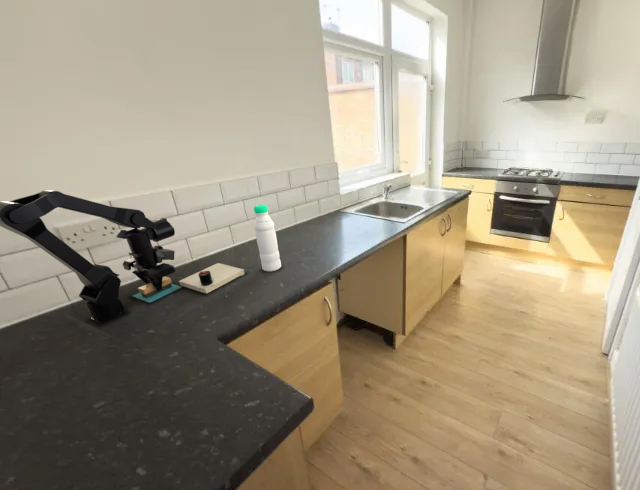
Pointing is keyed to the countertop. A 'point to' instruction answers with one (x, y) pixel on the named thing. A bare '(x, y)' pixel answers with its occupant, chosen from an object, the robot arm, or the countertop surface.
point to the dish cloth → (158, 295)
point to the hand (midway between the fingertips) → (156, 289)
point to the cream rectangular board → (213, 277)
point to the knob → (205, 278)
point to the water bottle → (266, 239)
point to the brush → (150, 290)
